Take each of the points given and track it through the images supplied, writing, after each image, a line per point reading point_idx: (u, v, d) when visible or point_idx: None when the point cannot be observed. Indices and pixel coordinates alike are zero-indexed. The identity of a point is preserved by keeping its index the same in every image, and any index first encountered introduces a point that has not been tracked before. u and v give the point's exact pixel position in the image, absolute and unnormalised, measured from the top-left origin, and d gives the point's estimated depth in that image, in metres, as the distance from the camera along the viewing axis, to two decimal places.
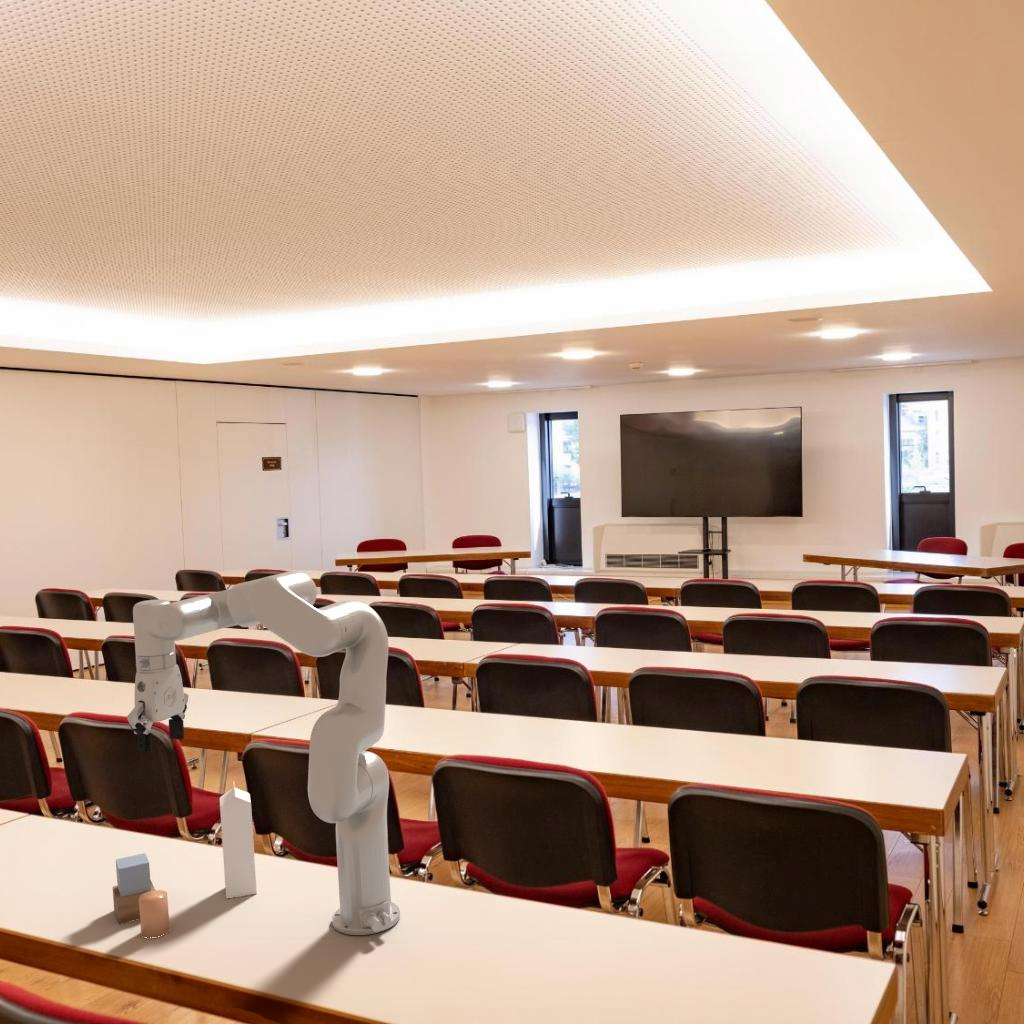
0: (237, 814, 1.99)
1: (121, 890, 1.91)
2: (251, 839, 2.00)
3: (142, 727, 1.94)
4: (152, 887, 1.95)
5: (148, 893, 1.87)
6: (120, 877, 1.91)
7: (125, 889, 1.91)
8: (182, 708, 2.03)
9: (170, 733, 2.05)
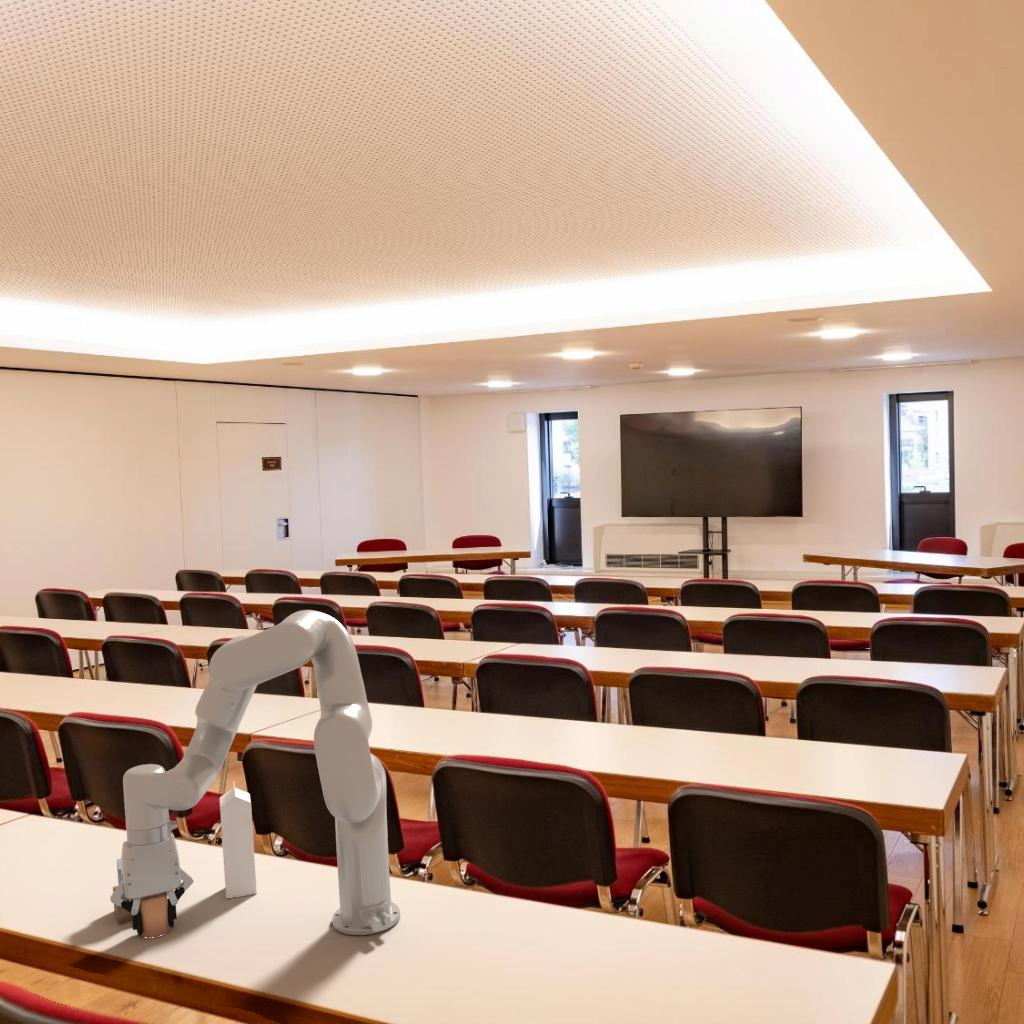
0: (237, 814, 1.99)
1: None
2: (251, 839, 2.00)
3: None
4: None
5: None
6: (120, 877, 1.90)
7: None
8: None
9: (141, 928, 1.84)
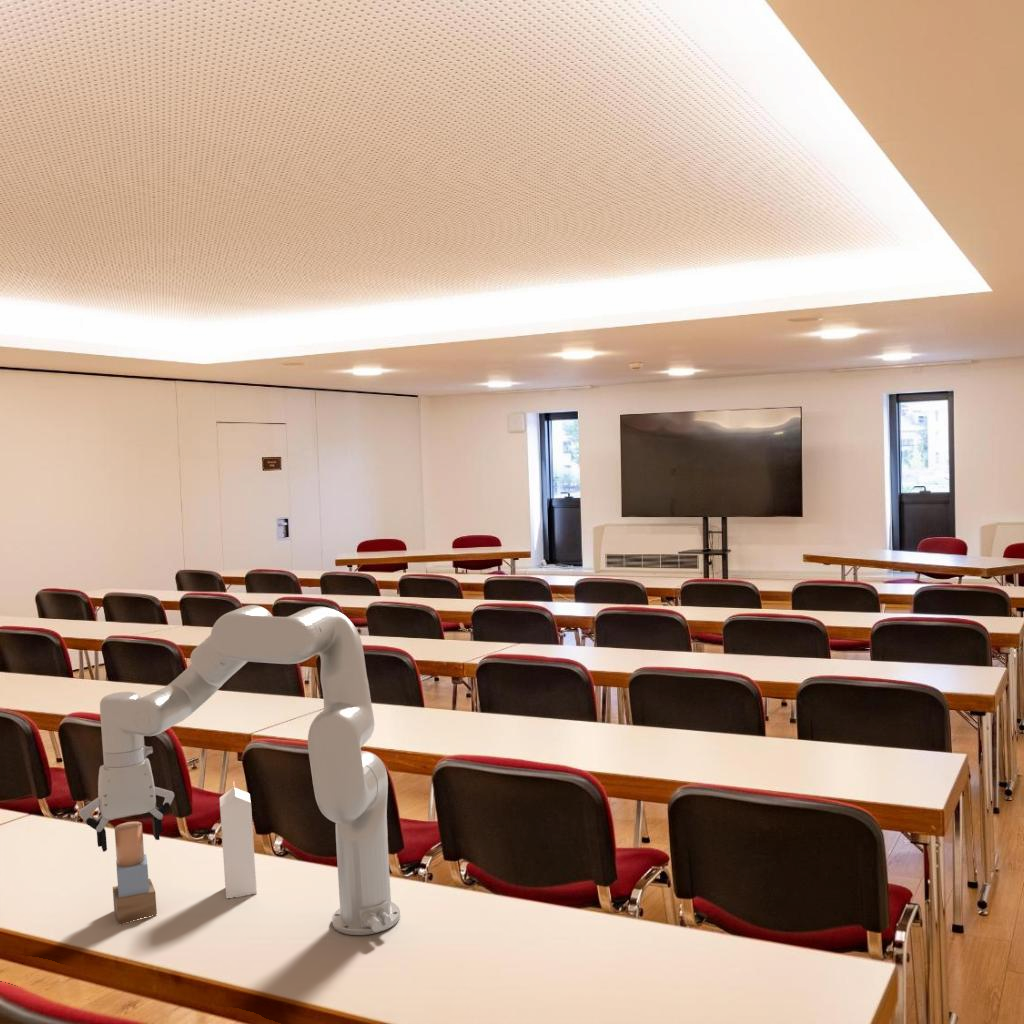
0: (237, 814, 1.99)
1: (119, 891, 1.90)
2: (251, 839, 2.00)
3: None
4: (152, 887, 1.94)
5: (124, 824, 1.95)
6: (118, 878, 1.90)
7: (123, 890, 1.91)
8: None
9: (106, 844, 1.91)
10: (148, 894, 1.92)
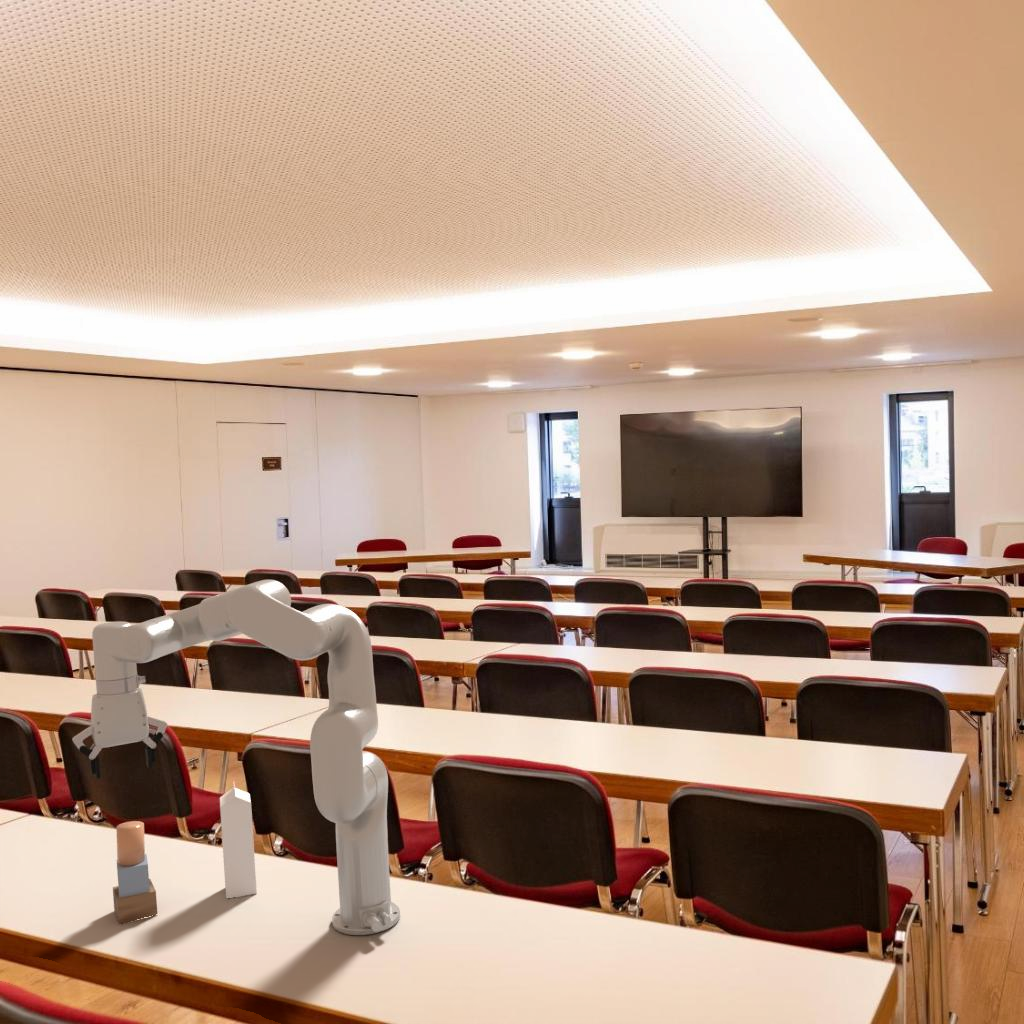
0: (237, 814, 1.99)
1: (119, 891, 1.90)
2: (251, 839, 2.00)
3: None
4: (152, 887, 1.94)
5: (125, 823, 1.95)
6: (118, 878, 1.90)
7: (124, 890, 1.91)
8: None
9: (99, 772, 1.91)
10: (148, 894, 1.92)
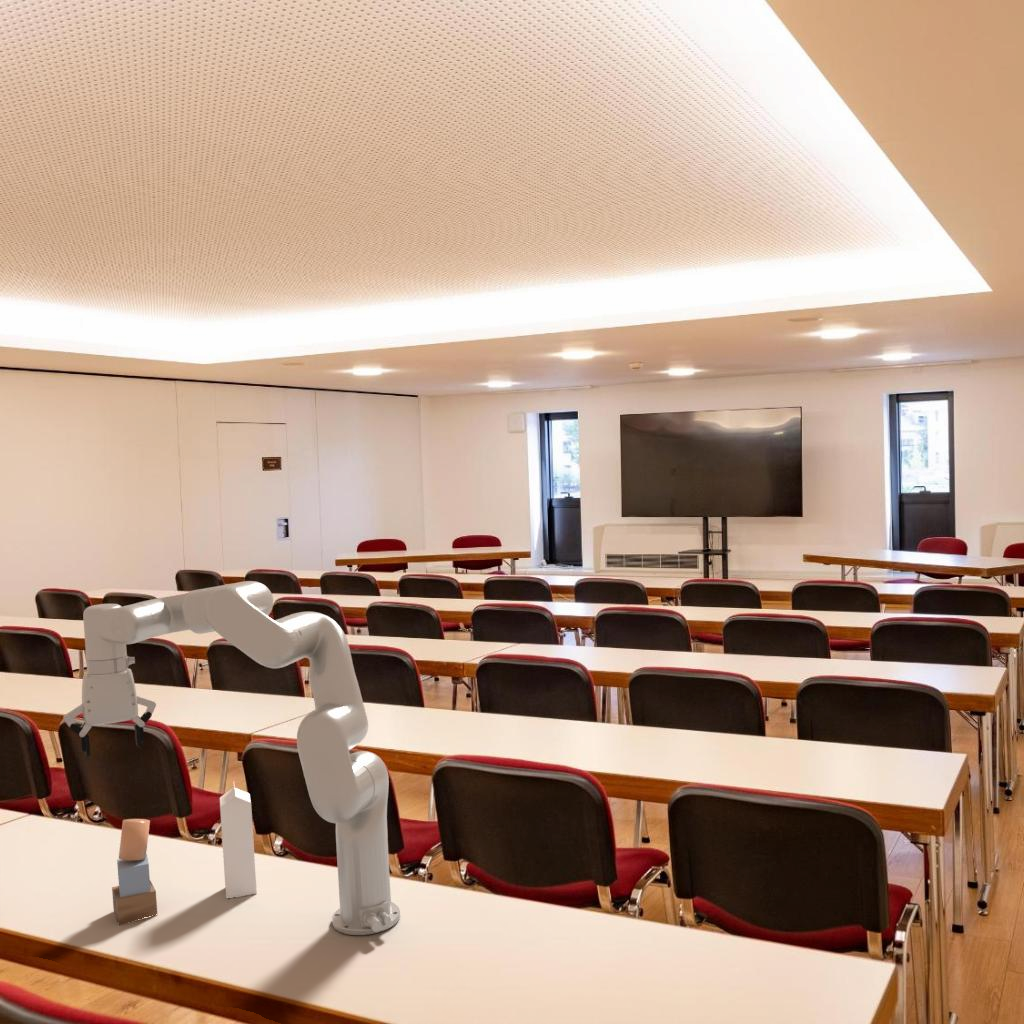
0: (237, 814, 1.99)
1: (120, 891, 1.90)
2: (251, 839, 2.00)
3: None
4: (152, 887, 1.94)
5: (133, 819, 1.96)
6: (119, 878, 1.90)
7: (125, 890, 1.91)
8: None
9: (89, 749, 1.97)
10: (148, 893, 1.92)
